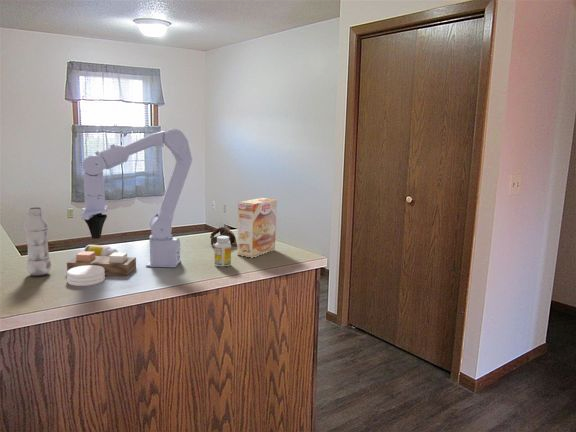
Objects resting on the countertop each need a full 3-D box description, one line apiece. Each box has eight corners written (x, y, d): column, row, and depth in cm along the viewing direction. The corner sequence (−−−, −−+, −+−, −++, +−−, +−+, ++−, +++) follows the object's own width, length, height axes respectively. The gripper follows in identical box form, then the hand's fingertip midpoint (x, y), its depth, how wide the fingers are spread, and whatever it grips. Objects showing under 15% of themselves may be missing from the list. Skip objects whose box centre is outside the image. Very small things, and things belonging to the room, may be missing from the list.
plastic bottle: (35, 279, 132) (30, 211, 129) (22, 275, 136) (17, 208, 132) (56, 274, 138) (52, 208, 134) (43, 269, 141) (39, 205, 138)
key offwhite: (127, 262, 144) (127, 252, 143) (122, 265, 140) (122, 256, 139) (114, 261, 144) (114, 252, 143) (109, 265, 140) (109, 255, 139)
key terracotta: (95, 260, 144) (94, 251, 143) (89, 264, 140) (89, 255, 139) (82, 260, 144) (82, 251, 143) (76, 264, 140) (76, 254, 139)
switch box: (136, 268, 146) (135, 257, 146) (127, 276, 138) (126, 264, 138) (79, 266, 146) (78, 255, 146) (67, 273, 138) (66, 262, 138)
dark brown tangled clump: (239, 249, 175) (229, 232, 171) (216, 259, 175) (206, 242, 172) (238, 234, 185) (229, 218, 182) (217, 244, 186) (207, 228, 183)
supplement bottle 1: (84, 263, 151) (111, 265, 149) (81, 247, 149) (109, 250, 147) (94, 257, 156) (120, 259, 154) (92, 242, 154) (118, 244, 152)
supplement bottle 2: (214, 267, 149) (214, 238, 148) (214, 263, 155) (214, 235, 153) (231, 267, 150) (231, 238, 149) (230, 262, 156) (230, 235, 154)
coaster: (94, 273, 140) (93, 262, 140) (111, 281, 134) (111, 269, 133) (61, 281, 133) (60, 269, 132) (77, 289, 126) (77, 277, 126)
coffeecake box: (252, 259, 161) (253, 203, 157) (236, 255, 165) (237, 201, 161) (276, 250, 174) (277, 199, 170) (260, 247, 177) (261, 197, 174)
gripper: (92, 191, 148) (93, 232, 151) (70, 197, 134) (72, 243, 137) (113, 192, 148) (115, 233, 151) (94, 198, 134) (96, 244, 136)
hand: (96, 238), depth 144 cm, fingers closed
